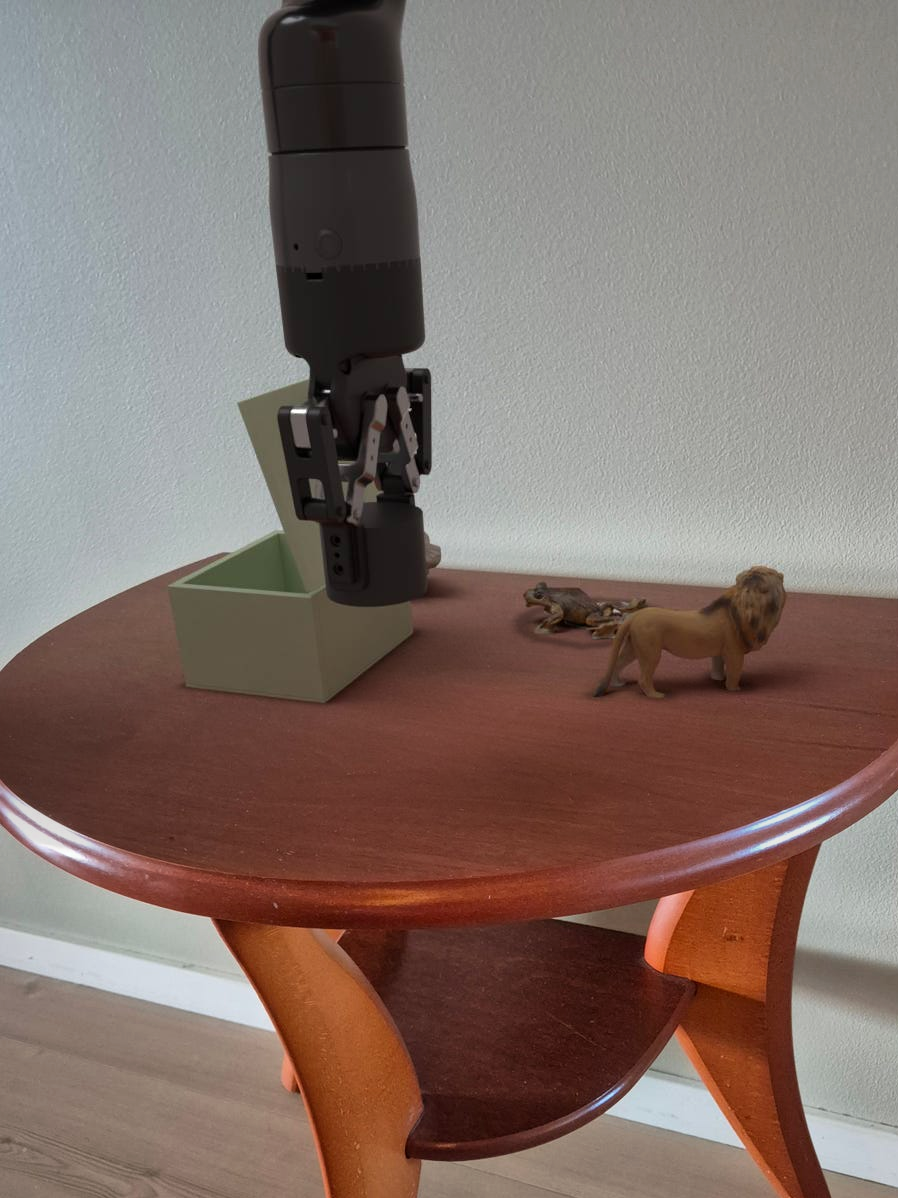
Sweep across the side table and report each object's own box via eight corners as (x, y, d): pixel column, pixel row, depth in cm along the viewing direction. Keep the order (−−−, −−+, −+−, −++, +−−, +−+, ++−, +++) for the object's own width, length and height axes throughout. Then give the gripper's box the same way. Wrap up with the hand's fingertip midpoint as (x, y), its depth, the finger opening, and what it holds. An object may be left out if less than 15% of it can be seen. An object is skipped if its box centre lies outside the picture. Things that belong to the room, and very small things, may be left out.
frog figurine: (509, 652, 99) (507, 608, 97) (529, 605, 109) (528, 565, 107) (647, 654, 97) (648, 609, 95) (655, 606, 107) (656, 565, 105)
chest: (187, 693, 94) (166, 585, 90) (288, 626, 107) (275, 529, 103) (325, 709, 90) (311, 597, 86) (414, 638, 103) (405, 537, 98)
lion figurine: (763, 667, 93) (771, 554, 88) (792, 692, 88) (802, 574, 84) (583, 691, 91) (582, 576, 86) (603, 717, 86) (604, 597, 82)
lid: (236, 402, 80) (302, 380, 78) (346, 366, 93) (406, 345, 90) (306, 592, 86) (370, 577, 83) (401, 533, 98) (459, 518, 96)
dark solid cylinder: (308, 602, 69) (299, 524, 66) (355, 572, 73) (348, 499, 71) (401, 611, 67) (395, 531, 64) (443, 579, 71) (439, 504, 69)
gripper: (348, 245, 68) (373, 536, 76) (208, 266, 57) (256, 605, 65) (468, 242, 65) (480, 544, 74) (347, 263, 54) (378, 617, 62)
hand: (375, 571), depth 69 cm, fingers closed on dark solid cylinder, 6 cm apart
